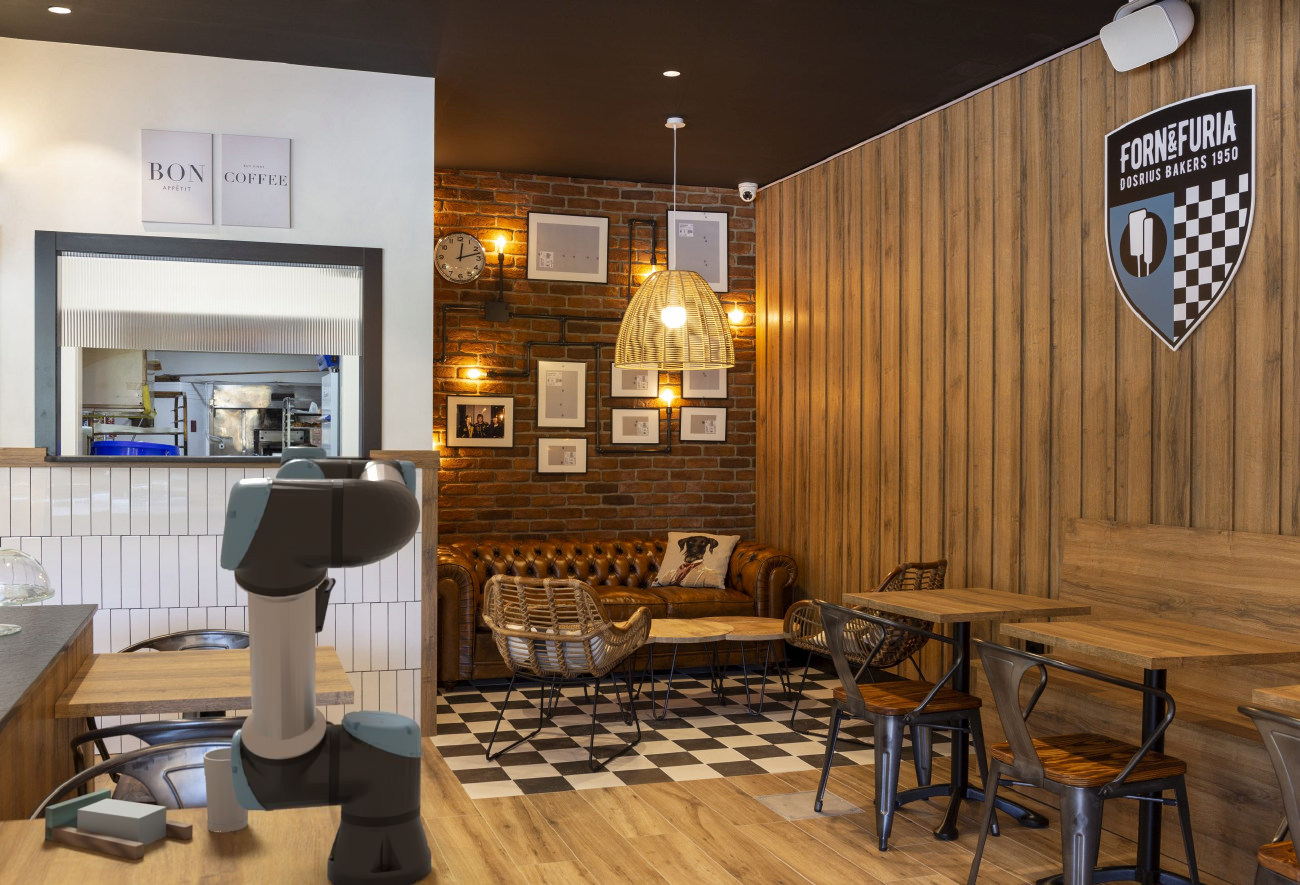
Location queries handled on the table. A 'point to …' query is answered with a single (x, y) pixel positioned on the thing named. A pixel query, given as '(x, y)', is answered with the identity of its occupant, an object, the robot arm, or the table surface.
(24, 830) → the table surface
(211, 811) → the cup
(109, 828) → the block
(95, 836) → the brown green u-shaped frame
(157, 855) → the table surface
